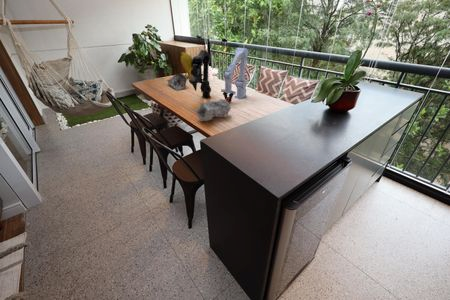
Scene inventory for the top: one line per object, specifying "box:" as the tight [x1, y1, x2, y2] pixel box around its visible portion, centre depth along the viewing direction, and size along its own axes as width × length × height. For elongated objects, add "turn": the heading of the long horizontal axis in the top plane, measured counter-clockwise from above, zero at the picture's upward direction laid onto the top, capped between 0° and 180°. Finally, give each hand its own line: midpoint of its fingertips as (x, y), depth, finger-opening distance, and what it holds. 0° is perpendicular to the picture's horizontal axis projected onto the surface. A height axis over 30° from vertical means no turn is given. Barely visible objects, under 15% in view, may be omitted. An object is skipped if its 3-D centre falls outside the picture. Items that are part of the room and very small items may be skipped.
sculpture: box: [180, 51, 194, 79], centre depth 254 cm, size 20×27×30 cm
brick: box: [224, 96, 232, 104], centre depth 186 cm, size 5×4×4 cm
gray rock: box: [166, 72, 188, 91], centre depth 228 cm, size 19×8×30 cm
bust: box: [195, 98, 232, 123], centre depth 155 cm, size 17×17×28 cm
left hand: (199, 91), depth 177 cm, fingers open, 9 cm apart
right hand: (228, 100), depth 187 cm, fingers closed on brick, 4 cm apart
